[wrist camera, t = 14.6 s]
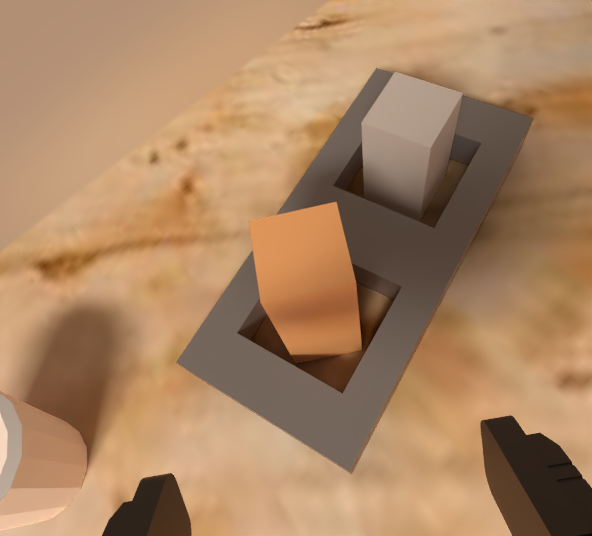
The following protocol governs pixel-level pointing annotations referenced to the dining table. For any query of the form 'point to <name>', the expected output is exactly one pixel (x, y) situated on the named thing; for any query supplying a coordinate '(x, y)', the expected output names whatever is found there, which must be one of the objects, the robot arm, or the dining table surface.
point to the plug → (307, 281)
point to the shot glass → (36, 464)
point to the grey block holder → (369, 254)
